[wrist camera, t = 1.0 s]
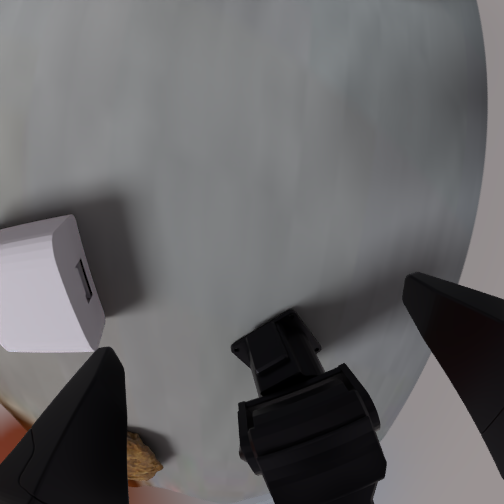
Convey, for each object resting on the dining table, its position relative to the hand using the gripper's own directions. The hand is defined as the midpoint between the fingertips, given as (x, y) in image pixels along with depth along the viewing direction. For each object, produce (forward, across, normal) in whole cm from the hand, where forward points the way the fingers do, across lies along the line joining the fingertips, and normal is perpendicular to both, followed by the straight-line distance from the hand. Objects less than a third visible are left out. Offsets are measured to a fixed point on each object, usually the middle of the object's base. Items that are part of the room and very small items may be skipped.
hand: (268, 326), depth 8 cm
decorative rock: (+14, +21, +30) cm, 39 cm away
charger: (+13, +18, +2) cm, 23 cm away
